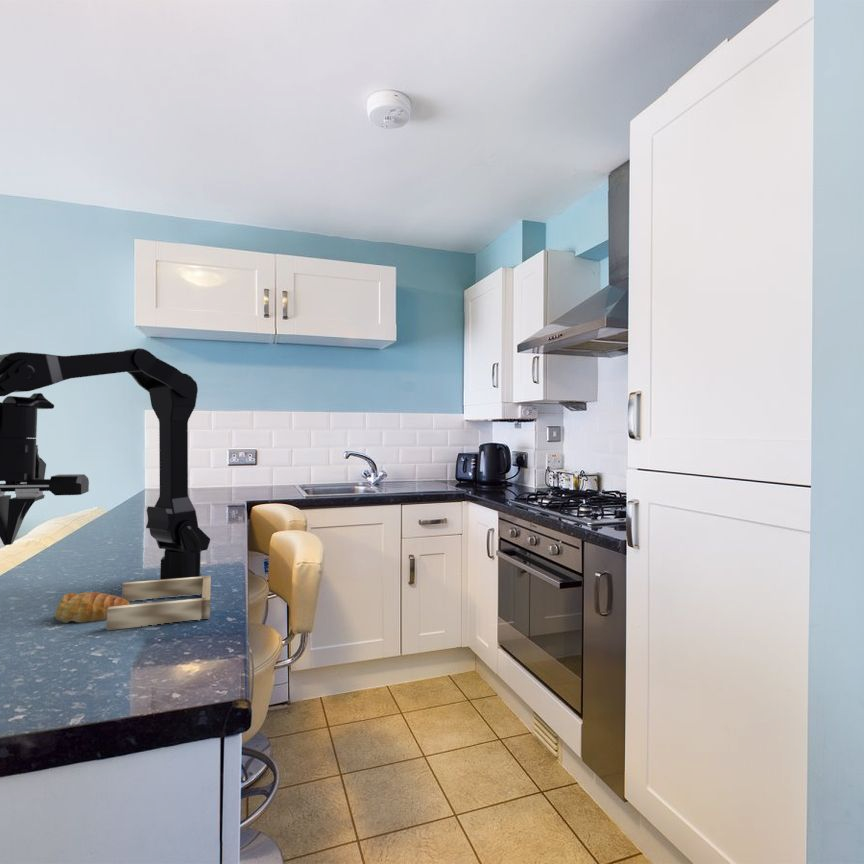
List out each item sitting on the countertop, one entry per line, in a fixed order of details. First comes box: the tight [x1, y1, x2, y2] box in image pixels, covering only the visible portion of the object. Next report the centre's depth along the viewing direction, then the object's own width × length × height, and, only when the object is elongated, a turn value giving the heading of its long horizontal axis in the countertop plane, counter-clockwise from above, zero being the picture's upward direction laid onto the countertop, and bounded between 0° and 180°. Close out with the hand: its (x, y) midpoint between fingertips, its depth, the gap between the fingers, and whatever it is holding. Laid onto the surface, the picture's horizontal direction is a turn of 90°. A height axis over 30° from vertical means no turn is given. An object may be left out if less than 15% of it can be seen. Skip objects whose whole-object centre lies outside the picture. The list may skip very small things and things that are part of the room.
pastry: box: [54, 591, 131, 624], centre depth 81 cm, size 9×7×4 cm
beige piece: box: [106, 575, 212, 631], centre depth 85 cm, size 14×15×3 cm
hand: (8, 544), depth 77 cm, fingers closed
